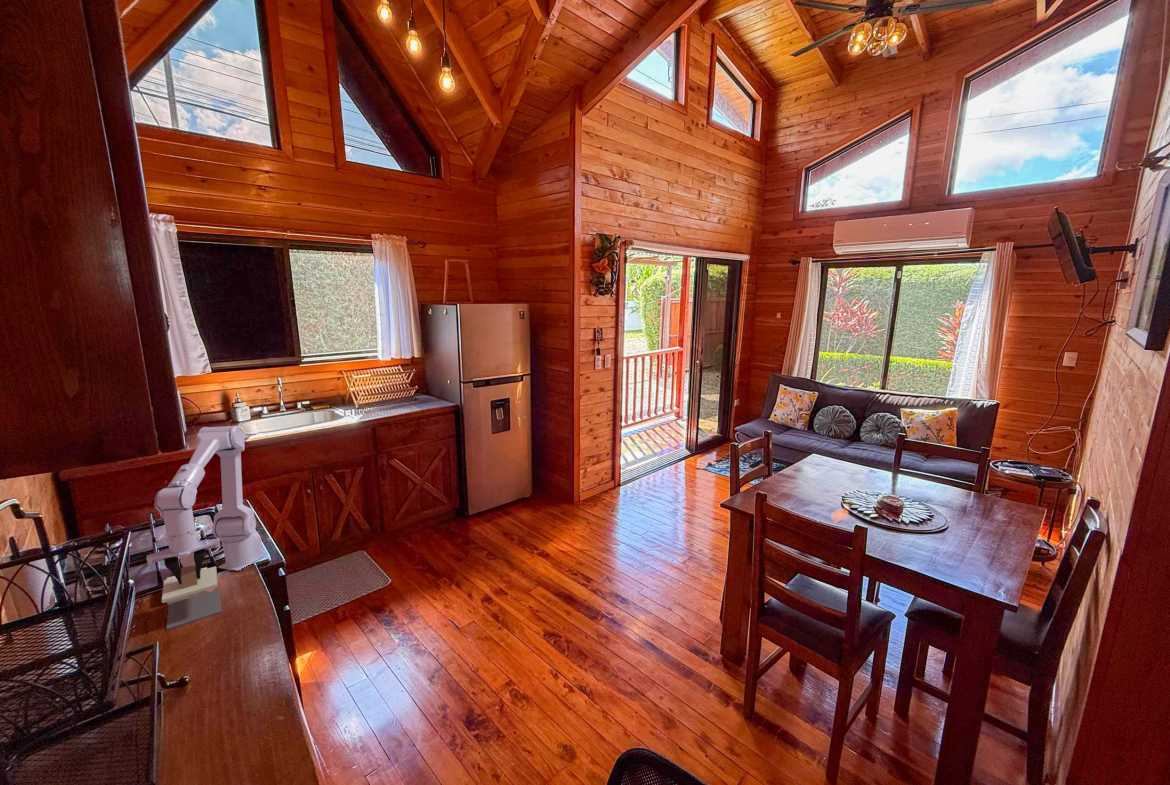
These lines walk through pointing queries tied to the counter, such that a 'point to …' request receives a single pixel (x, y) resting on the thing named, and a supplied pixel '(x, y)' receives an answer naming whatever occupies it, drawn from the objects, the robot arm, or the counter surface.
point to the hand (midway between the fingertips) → (189, 579)
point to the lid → (189, 583)
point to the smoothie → (189, 557)
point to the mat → (194, 609)
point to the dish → (188, 595)
